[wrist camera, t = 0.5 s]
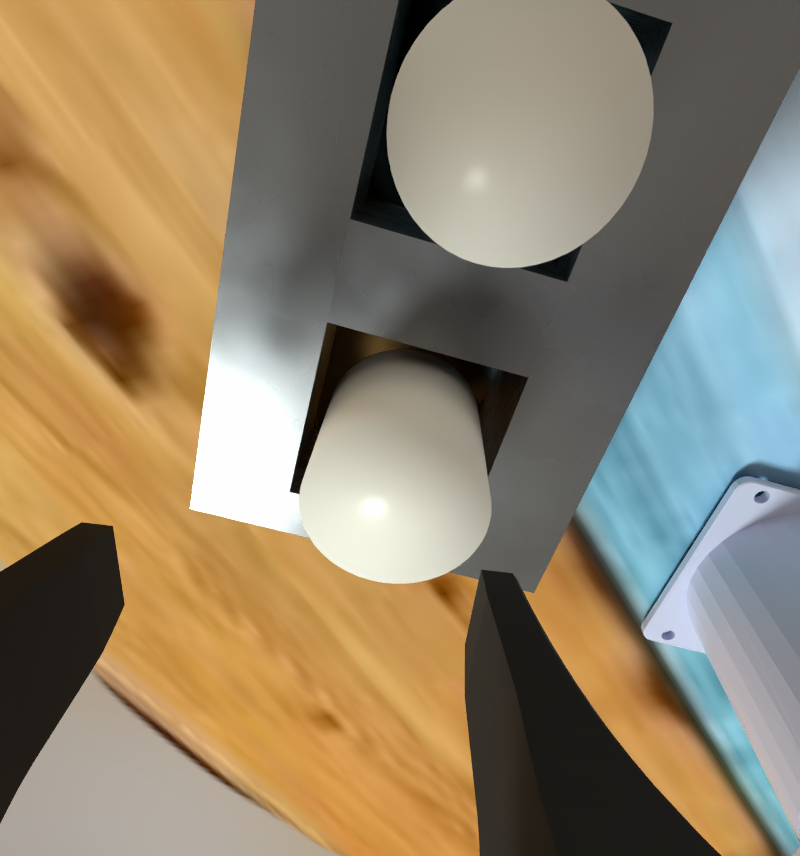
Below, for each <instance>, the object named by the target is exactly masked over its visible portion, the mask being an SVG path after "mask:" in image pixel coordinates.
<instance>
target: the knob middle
mask: <svg viewBox="0 0 800 856" xmlns="http://www.w3.org/2000/svg"><path fill="white" fill-rule="evenodd" d="M653 117H654V100H653V90H652V82H651V76H650V72H649V68H648V65H647V61H646V58H645V55H644V53H643V50H642V48H641V46H640V43H639V41H638V39H637V37H636V36H635V34H634V32H633V31H632V29H631V27H630V26H629V24H628V23H627V22H626V20H625V19H624V18H623V17H622V16H621V14H620V13H619V12H618V11H617V10H616V9H615V8H614V7H613V6H612V5H611V4H610V3H609V2H608V1H606V0H453V1H452V2H451V3H450V4H448V5H447V6H446V7H445V8H443V9H442V10H441V11H440V12H439V13H438V14H437V15H436V16H435V17H434V18H433V19H432V20H431V21H430V22H429V23H428V24H427V25H426V27H425V28H424V29H423V31H422V32H421V33H420V35H419V36H418V37H417V39H416V40H415V41H414V43H413V45H412V47H411V48H410V50H409V52H408V53H407V55H406V57H405V59H404V61H403V63H402V66H401V68H400V70H399V73H398V75H397V77H396V81H395V84H394V87H393V91H392V94H391V98H390V104H389V110H388V117H387V150H388V158H389V163H390V168H391V173H392V176H393V179H394V182H395V185H396V188H397V191H398V193H399V195H400V197H401V199H402V202H403V204H404V205H405V207H406V209H407V210H408V212H409V213H410V215H411V217H412V218H413V219H414V221H415V222H416V223H417V224H418V226H419V227H420V228H421V229H422V230H423V231H424V232H425V233H426V234H427V235H428V236H429V237H430V238H431V239H432V240H433V241H434V242H436V243H437V244H438V245H440V246H441V247H443V248H444V249H445V250H447V251H449V252H450V253H452V254H454V255H456V256H458V257H460V258H462V259H465V260H468V261H470V262H473V263H476V264H481V265H485V266H490V267H500V268H516V267H526V266H532V265H537V264H541V263H544V262H547V261H550V260H553V259H556V258H558V257H560V256H562V255H565V254H567V253H569V252H571V251H572V250H574V249H576V248H577V247H579V246H580V245H582V244H584V243H585V242H586V241H588V240H589V239H590V238H591V237H593V236H594V235H595V234H597V233H598V232H599V231H600V230H601V229H602V228H603V227H604V226H605V225H606V224H607V223H608V222H609V221H610V220H611V219H612V217H613V216H614V215H615V214H616V212H617V211H618V210H619V209H620V208H621V206H622V205H623V203H624V202H625V200H626V199H627V197H628V196H629V194H630V192H631V191H632V189H633V187H634V185H635V183H636V181H637V179H638V177H639V175H640V173H641V170H642V167H643V164H644V162H645V159H646V156H647V152H648V148H649V144H650V140H651V134H652V126H653Z"/></svg>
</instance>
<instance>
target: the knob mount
mask: <svg viewBox="0 0 800 856" xmlns="http://www.w3.org/2000/svg"><path fill="white" fill-rule="evenodd" d="M606 1H608V2H609V3H610V4H611V5H612V6H613V7H614V8H615V9H616V10H617V11H618V12H619V13H620V14H621V16H622V17H623V18H624V19H625V20H626V22H627V23H628V24H629V26H630V27H631V29H632V31H633V32H634V34H635V36H636V37H637V39H638V41H639V43H640V46H641V48H642V50H643V53H644V55H645V58H646V61H647V65H648V68H649V72H650V76H651V82H652V90H653V100H654V117H653V126H652V134H651V140H650V144H649V148H648V152H647V156H646V159H645V162H644V164H643V167H642V170H641V173H640V175H639V177H638V179H637V181H636V183H635V185H634V187H633V189H632V191H631V192H630V194H629V196H628V197H627V199H626V200H625V202H624V203H623V205H622V206H621V208H620V209H619V210H618V211H617V212H616V214H615V215H614V216H613V217H612V219H611V220H610V221H609V222H608V223H607V224H606V225H605V226H604V227H603V228H602V229H601V230H600V231H599V232H598V233H597V234H595V235H594V236H593V237H591V238H590V239H589V240H588V241H586V242H585V243H584V244H582V245H580V246H579V247H577V248H576V249H574V250H572V251H571V252H569V253H567V254H565V255H562V256H560V257H558V258H556V259H553V260H550V261H547V262H544V263H541V264H537V265H532V266H526V267H516V268H500V267H490V266H485V265H481V264H476V263H473V262H470V261H468V260H465V259H462V258H460V257H458V256H456V255H454V254H452V253H450V252H449V251H447V250H445V249H444V248H443V247H441V246H440V245H438V244H437V243H436V242H434V241H433V240H432V239H431V238H430V237H429V236H428V235H427V234H426V233H425V232H424V231H423V230H422V229H421V228H420V227H419V226H418V224H417V223H416V222H415V221H414V219H413V218H412V217H411V215H410V213H409V212H408V210H407V209H406V208H404V207H401V206H397V205H394V204H390V203H387V202H384V201H380V200H377V199H373V198H370V197H367V193H368V189H369V185H370V180H371V176H372V172H373V167H374V163H375V159H376V154H377V150H378V146H379V141H380V137H381V133H382V128H383V124H384V120H385V115H386V111H387V107H388V102H389V98H390V94H391V89H392V85H393V81H394V76H395V72H396V68H397V63H398V59H399V55H400V50H401V46H402V42H403V37H404V33H405V29H406V24H407V20H408V16H409V11H410V7H411V3H412V0H256V2H255V10H254V17H253V25H252V33H251V41H250V48H249V56H248V64H247V72H246V80H245V87H244V95H243V103H242V111H241V118H240V126H239V134H238V142H237V149H236V157H235V165H234V173H233V180H232V188H231V196H230V204H229V211H228V219H227V227H226V235H225V243H224V250H223V258H222V266H221V274H220V281H219V289H218V297H217V305H216V312H215V320H214V328H213V336H212V343H211V351H210V359H209V367H208V374H207V382H206V390H205V398H204V406H203V413H202V421H201V429H200V437H199V444H198V452H197V460H196V468H195V475H194V483H193V491H192V499H191V506H190V509H194V510H198V511H202V512H206V513H210V514H214V515H218V516H222V517H226V518H230V519H234V520H238V521H242V522H247V523H251V524H255V525H259V526H263V527H267V528H271V529H275V530H279V531H283V532H287V533H291V534H296V535H300V536H304V537H308V538H310V537H309V536H308V534H307V532H306V530H305V528H304V525H303V522H302V519H301V515H300V509H299V494H300V487H301V484H302V480H303V477H304V474H305V472H306V469H307V466H308V463H309V460H310V457H311V455H312V452H313V449H314V446H315V443H316V440H317V437H318V435H319V432H320V430H318V429H314V428H313V427H314V423H315V419H316V414H317V410H318V406H319V401H320V397H321V393H322V388H323V384H324V380H325V375H326V371H327V367H328V362H329V358H330V354H331V349H332V345H333V341H334V336H335V332H336V328H337V325H339V326H343V327H346V328H350V329H354V330H357V331H361V332H365V333H368V334H372V335H376V336H379V337H383V338H386V339H390V340H394V341H397V342H401V343H405V344H408V345H412V346H416V347H419V348H423V349H426V350H430V351H434V352H437V353H441V354H445V355H448V356H452V357H456V358H459V359H463V360H466V361H470V362H474V363H477V364H481V365H485V366H488V367H492V368H496V370H495V373H494V376H493V378H492V381H491V384H490V386H489V389H488V392H487V394H486V397H485V400H484V402H483V405H482V408H481V410H480V413H479V420H480V427H481V434H482V440H483V447H484V454H485V461H486V468H487V475H488V482H489V489H490V496H491V518H490V524H489V527H488V530H487V533H486V535H485V537H484V539H483V541H482V542H481V544H480V545H479V547H478V548H477V549H476V551H475V552H474V553H473V554H472V555H471V556H470V557H469V558H468V559H467V560H466V561H464V562H463V563H462V564H461V565H459V566H458V567H456V568H455V569H453V570H451V571H450V572H451V573H455V574H459V575H463V576H467V577H471V578H475V579H479V577H480V573H481V570H490V571H498V572H507V573H513V574H514V576H515V577H516V578H517V580H518V582H519V584H520V586H521V588H522V590H524V591H528V592H532V593H534V592H535V590H536V588H537V586H538V584H539V582H540V580H541V578H542V576H543V574H544V572H545V570H546V568H547V566H548V564H549V562H550V560H551V558H552V556H553V554H554V552H555V550H556V548H557V546H558V544H559V542H560V540H561V538H562V536H563V534H564V532H565V530H566V528H567V526H568V524H569V522H570V520H571V518H572V517H573V515H574V513H575V511H576V509H577V507H578V505H579V503H580V501H581V499H582V497H583V495H584V493H585V491H586V489H587V487H588V485H589V483H590V481H591V479H592V477H593V475H594V473H595V471H596V469H597V467H598V465H599V463H600V461H601V459H602V457H603V455H604V453H605V451H606V449H607V447H608V445H609V443H610V441H611V439H612V437H613V435H614V433H615V431H616V429H617V427H618V425H619V423H620V422H621V420H622V418H623V416H624V414H625V412H626V410H627V408H628V406H629V404H630V402H631V400H632V398H633V396H634V394H635V392H636V390H637V388H638V386H639V384H640V382H641V380H642V378H643V376H644V374H645V372H646V370H647V368H648V366H649V364H650V362H651V360H652V358H653V356H654V354H655V352H656V350H657V348H658V346H659V344H660V342H661V340H662V338H663V336H664V334H665V332H666V330H667V329H668V327H669V325H670V323H671V321H672V319H673V317H674V315H675V313H676V311H677V309H678V307H679V305H680V303H681V301H682V299H683V297H684V295H685V293H686V291H687V289H688V287H689V285H690V283H691V281H692V279H693V277H694V275H695V273H696V271H697V269H698V267H699V265H700V263H701V261H702V259H703V257H704V255H705V253H706V251H707V249H708V247H709V245H710V243H711V241H712V239H713V237H714V235H715V234H716V232H717V230H718V228H719V226H720V224H721V222H722V220H723V218H724V216H725V214H726V212H727V210H728V208H729V206H730V204H731V202H732V200H733V198H734V196H735V194H736V192H737V190H738V188H739V186H740V184H741V182H742V180H743V178H744V176H745V174H746V172H747V170H748V168H749V166H750V164H751V162H752V160H753V158H754V156H755V154H756V152H757V150H758V148H759V146H760V144H761V142H762V140H763V139H764V137H765V135H766V133H767V131H768V129H769V127H770V125H771V123H772V121H773V119H774V117H775V115H776V113H777V111H778V109H779V107H780V105H781V103H782V101H783V99H784V97H785V95H786V93H787V91H788V89H789V87H790V85H791V83H792V81H793V79H794V77H795V75H796V73H797V71H798V69H799V67H800V0H606Z"/></svg>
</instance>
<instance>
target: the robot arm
mask: <svg viewBox="0 0 800 856" xmlns="http://www.w3.org/2000/svg"><path fill="white" fill-rule="evenodd" d="M761 491H764V493H763V494H762V495H761V496H758V497H755V495H756V494H757V493H758V492H761ZM124 605H125V604H124V597H123V591H122V584H121V578H120V571H119V564H118V558H117V551H116V544H115V538H114V531H113V526H108V525H99V524H91V523H80V524H78V525H76V526H75V527H73V528H71V529H69V530H68V531H66V532H64V533H63V534H61V535H59V536H58V537H56V538H54V539H53V540H51V541H50V542H48V543H46V544H45V545H43V546H41V547H40V548H38V549H37V550H35V551H33V552H32V553H30V554H29V555H27V556H25V557H24V558H22V559H21V560H19V561H17V562H16V563H14V564H12V565H11V566H9V567H7V568H6V569H4V570H3V571H1V572H0V823H1V821H2V819H3V817H4V815H5V813H6V811H7V809H8V807H9V805H10V803H11V801H12V799H13V797H14V796H15V794H16V792H17V790H18V788H19V786H20V784H21V783H22V781H23V779H24V777H25V776H26V774H27V772H28V771H29V769H30V767H31V766H32V764H33V762H34V761H35V759H36V757H37V756H38V754H39V753H40V751H41V750H42V748H43V746H44V745H45V743H46V742H47V740H48V739H49V737H50V735H51V734H52V732H53V731H54V729H55V728H56V726H57V724H58V723H59V721H60V720H61V718H62V716H63V715H64V713H65V712H66V710H67V709H68V707H69V705H70V704H71V702H72V701H73V699H74V698H75V696H76V694H77V693H78V691H79V690H80V688H81V686H82V685H83V683H84V682H85V680H86V678H87V677H88V675H89V674H90V672H91V670H92V669H93V667H94V666H95V664H96V662H97V661H98V659H99V657H100V656H101V654H102V652H103V650H104V648H105V646H106V644H107V642H108V640H109V638H110V636H111V634H112V632H113V629H114V627H115V625H116V623H117V621H118V618H119V616H120V614H121V612H122V609H123V607H124ZM641 628H642V632H643V634H644V636H645V637H646V638H647V639H649V640H652V641H656V642H660V643H664V644H669V645H673V646H677V647H681V648H685V649H689V650H693V651H697V652H702V653H706V654H707V656H708V658H709V660H710V662H711V664H712V666H713V668H714V670H715V672H716V674H717V676H718V678H719V680H720V682H721V684H722V686H723V688H724V690H725V692H726V694H727V696H728V698H729V700H730V703H731V705H732V707H733V709H734V711H735V713H736V715H737V717H738V719H739V721H740V723H741V725H742V727H743V729H744V731H745V733H746V735H747V737H748V739H749V741H750V743H751V745H752V747H753V749H754V751H755V753H756V755H757V757H758V759H759V761H760V763H761V765H762V767H763V769H764V771H765V773H766V775H767V777H768V779H769V781H770V783H771V785H772V787H773V789H774V791H775V793H776V795H777V797H778V799H779V801H780V803H781V805H782V807H783V809H784V811H785V813H786V815H787V817H788V819H789V821H790V823H791V825H792V827H793V829H794V831H795V833H796V835H797V837H798V839H799V841H800V490H799V489H796V488H792V487H788V486H784V485H781V484H777V483H773V482H770V481H766V480H762V479H758V478H755V477H749V476H745V477H741V478H739V479H737V480H735V481H734V482H733V483H732V484H731V486H730V487H729V489H728V491H727V492H726V494H725V495H724V497H723V498H722V500H721V501H720V503H719V505H718V506H717V508H716V509H715V511H714V512H713V514H712V516H711V517H710V519H709V520H708V522H707V523H706V525H705V526H704V528H703V530H702V531H701V533H700V534H699V536H698V537H697V539H696V540H695V542H694V544H693V545H692V547H691V548H690V550H689V551H688V553H687V555H686V556H685V558H684V559H683V561H682V562H681V564H680V565H679V567H678V569H677V570H676V572H675V573H674V575H673V576H672V578H671V579H670V581H669V583H668V584H667V586H666V587H665V589H664V590H663V592H662V594H661V595H660V597H659V598H658V600H657V601H656V603H655V604H654V606H653V608H652V609H651V611H650V612H649V614H648V615H647V617H646V618H645V620H644V622H643V623H642V626H641ZM665 631H669V632H666V633H664V632H665ZM465 702H466V712H467V722H468V731H469V741H470V750H471V759H472V768H473V778H474V787H475V796H476V806H477V815H478V829H479V843H480V856H721V855H720V854H719V853H718V852H717V851H716V850H715V849H714V848H713V847H712V846H711V845H710V844H709V843H708V842H707V841H706V840H705V839H704V838H703V837H702V836H701V835H700V834H699V833H698V832H697V831H696V830H695V829H694V828H693V827H692V826H691V825H690V823H689V822H688V821H687V820H686V819H685V818H684V817H683V816H682V815H681V814H680V813H679V812H678V811H677V809H676V808H675V807H674V806H673V805H672V804H671V803H670V802H669V801H668V800H667V799H666V798H665V797H664V795H663V794H662V793H661V792H660V791H659V790H658V789H657V788H656V787H655V786H654V785H653V783H652V782H651V781H650V780H649V779H648V777H647V776H646V775H645V774H644V773H643V771H642V770H641V769H640V768H639V767H638V766H637V764H636V763H635V762H634V761H633V760H632V758H631V757H630V756H629V755H628V753H627V752H626V751H625V750H624V748H623V747H622V746H621V745H620V743H619V742H618V741H617V739H616V738H615V737H614V736H613V734H612V733H611V732H610V730H609V729H608V728H607V726H606V725H605V724H604V722H603V721H602V720H601V718H600V717H599V715H598V714H597V713H596V711H595V710H594V709H593V707H592V706H591V704H590V703H589V701H588V700H587V698H586V697H585V695H584V694H583V693H582V691H581V690H580V688H579V687H578V685H577V684H576V682H575V681H574V679H573V678H572V676H571V674H570V673H569V671H568V670H567V668H566V667H565V665H564V663H563V662H562V660H561V658H560V657H559V655H558V653H557V652H556V650H555V649H554V647H553V645H552V644H551V642H550V640H549V639H548V637H547V635H546V633H545V632H544V630H543V628H542V626H541V624H540V623H539V621H538V619H537V617H536V615H535V614H534V612H533V610H532V608H531V606H530V604H529V602H528V600H527V598H526V596H525V594H524V592H523V590H522V588H521V586H520V584H519V582H518V580H517V578H516V577H515V576H514V574H513V573H507V572H498V571H490V570H481V573H480V577H479V582H478V587H477V591H476V596H475V601H474V605H473V610H472V615H471V620H470V624H469V629H468V634H467V638H466V643H465ZM792 856H800V846H799V848H798V849H797V850H796V852H795V853H794V854H793V855H792Z"/></svg>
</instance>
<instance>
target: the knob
mask: <svg viewBox="0 0 800 856" xmlns="http://www.w3.org/2000/svg"><path fill="white" fill-rule="evenodd" d="M299 509H300V515H301V519H302V522H303V525H304V528H305V530H306V532H307V534H308V536H309V537H310V539H311V540H312V542H313V543H314V545H315V546H316V547H317V548H318V549H319V551H320V552H321V553H322V554H323V555H324V556H326V557H327V558H328V559H329V560H330V561H331V562H333V563H334V564H336V565H337V566H339V567H340V568H342V569H344V570H346V571H348V572H349V573H352V574H354V575H357V576H359V577H362V578H365V579H369V580H372V581H378V582H383V583H394V584H399V583H414V582H421V581H425V580H429V579H432V578H435V577H438V576H441V575H443V574H445V573H447V572H450V571H451V570H453V569H455V568H456V567H458V566H459V565H461V564H462V563H463V562H464V561H466V560H467V559H468V558H469V557H470V556H471V555H472V554H473V553H474V552H475V551H476V549H477V548H478V547H479V545H480V544H481V542H482V541H483V539H484V537H485V535H486V533H487V530H488V527H489V524H490V518H491V496H490V489H489V482H488V475H487V468H486V461H485V454H484V447H483V440H482V434H481V427H480V420H479V413H478V406H477V402H476V399H475V396H474V393H473V391H472V389H471V387H470V386H469V384H468V383H467V381H466V380H465V378H464V377H463V376H462V375H461V374H460V373H459V372H458V371H457V370H456V369H455V368H454V367H452V366H451V365H450V364H448V363H447V362H445V361H444V360H442V359H440V358H438V357H435V356H433V355H430V354H427V353H424V352H420V351H415V350H390V351H384V352H381V353H377V354H374V355H372V356H369V357H367V358H365V359H363V360H362V361H360V362H358V363H357V364H355V365H354V366H353V367H352V368H351V369H349V370H348V371H347V372H346V374H345V375H344V376H343V377H342V378H341V380H340V381H339V383H338V384H337V386H336V388H335V390H334V392H333V395H332V398H331V401H330V403H329V406H328V409H327V412H326V415H325V418H324V420H323V423H322V426H321V429H320V432H319V435H318V437H317V440H316V443H315V446H314V449H313V452H312V455H311V457H310V460H309V463H308V466H307V469H306V472H305V474H304V477H303V480H302V484H301V487H300V494H299Z"/></svg>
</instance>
